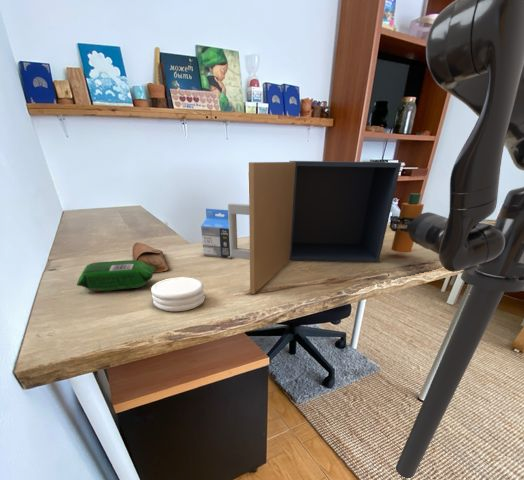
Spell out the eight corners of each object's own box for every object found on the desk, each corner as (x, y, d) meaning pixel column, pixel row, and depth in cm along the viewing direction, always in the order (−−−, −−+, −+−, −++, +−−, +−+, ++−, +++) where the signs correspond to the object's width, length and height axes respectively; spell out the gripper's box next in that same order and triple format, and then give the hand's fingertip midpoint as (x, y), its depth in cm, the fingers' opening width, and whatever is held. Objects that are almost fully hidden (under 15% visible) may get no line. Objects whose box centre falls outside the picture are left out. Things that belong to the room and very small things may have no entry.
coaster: (176, 317, 53) (173, 299, 51) (143, 303, 58) (139, 286, 56) (215, 300, 60) (213, 283, 58) (183, 288, 65) (180, 273, 63)
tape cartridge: (203, 255, 87) (198, 210, 80) (209, 252, 90) (205, 208, 83) (230, 258, 85) (228, 212, 78) (235, 255, 88) (234, 210, 81)
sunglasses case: (171, 269, 75) (152, 246, 70) (149, 285, 75) (129, 264, 70) (163, 251, 88) (147, 232, 84) (144, 265, 89) (127, 246, 84)
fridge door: (227, 289, 64) (220, 161, 51) (268, 258, 85) (270, 161, 72) (254, 293, 63) (253, 162, 50) (289, 261, 83) (295, 161, 70)
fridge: (378, 262, 84) (401, 162, 70) (287, 260, 84) (293, 161, 71) (362, 246, 99) (378, 162, 85) (284, 245, 99) (289, 160, 86)
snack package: (157, 289, 64) (152, 266, 62) (78, 295, 61) (70, 270, 58) (158, 279, 70) (154, 257, 67) (87, 283, 67) (80, 260, 64)
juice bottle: (415, 250, 87) (431, 194, 79) (403, 253, 85) (419, 195, 77) (398, 246, 91) (412, 192, 83) (387, 249, 89) (400, 193, 81)
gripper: (467, 215, 70) (433, 205, 84) (406, 214, 70) (383, 205, 84) (455, 247, 74) (425, 233, 88) (398, 247, 74) (377, 233, 88)
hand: (405, 219), depth 86 cm, fingers closed on juice bottle, 5 cm apart
